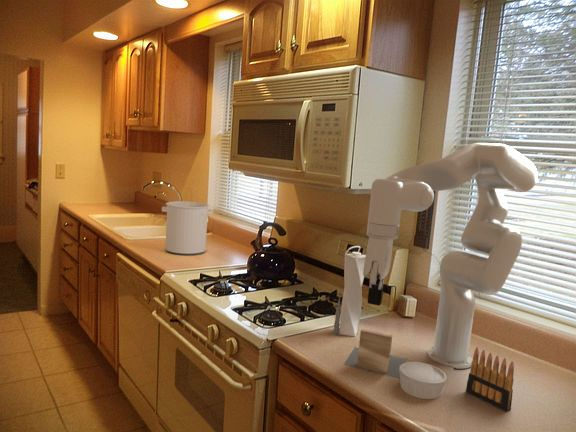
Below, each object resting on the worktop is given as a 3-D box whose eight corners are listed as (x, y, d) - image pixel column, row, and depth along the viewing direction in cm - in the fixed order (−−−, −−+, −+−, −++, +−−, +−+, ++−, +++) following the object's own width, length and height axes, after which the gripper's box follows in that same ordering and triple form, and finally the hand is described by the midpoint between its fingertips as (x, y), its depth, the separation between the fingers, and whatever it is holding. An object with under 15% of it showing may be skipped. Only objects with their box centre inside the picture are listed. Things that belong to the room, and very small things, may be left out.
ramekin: (453, 401, 114) (456, 381, 113) (412, 405, 110) (415, 384, 110) (427, 379, 124) (429, 360, 123) (389, 382, 121) (391, 362, 120)
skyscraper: (337, 327, 155) (345, 243, 151) (361, 331, 153) (370, 246, 149) (332, 336, 147) (340, 248, 143) (358, 341, 145) (367, 252, 141)
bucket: (156, 254, 233) (158, 205, 229) (163, 245, 254) (165, 199, 251) (209, 257, 235) (211, 208, 232) (212, 247, 257) (214, 203, 253)
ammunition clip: (465, 391, 119) (471, 346, 117) (469, 390, 120) (475, 345, 118) (507, 412, 110) (514, 363, 109) (510, 410, 112) (518, 362, 110)
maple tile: (359, 362, 129) (362, 327, 127) (388, 369, 126) (392, 334, 125) (356, 366, 127) (360, 330, 125) (386, 373, 124) (391, 337, 122)
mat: (355, 348, 139) (355, 347, 139) (406, 361, 134) (407, 358, 134) (343, 366, 127) (343, 364, 127) (399, 380, 122) (399, 378, 122)
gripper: (373, 224, 123) (366, 293, 125) (360, 232, 109) (351, 309, 111) (403, 229, 120) (394, 298, 122) (393, 237, 106) (383, 315, 109)
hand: (374, 303), depth 117 cm, fingers closed
